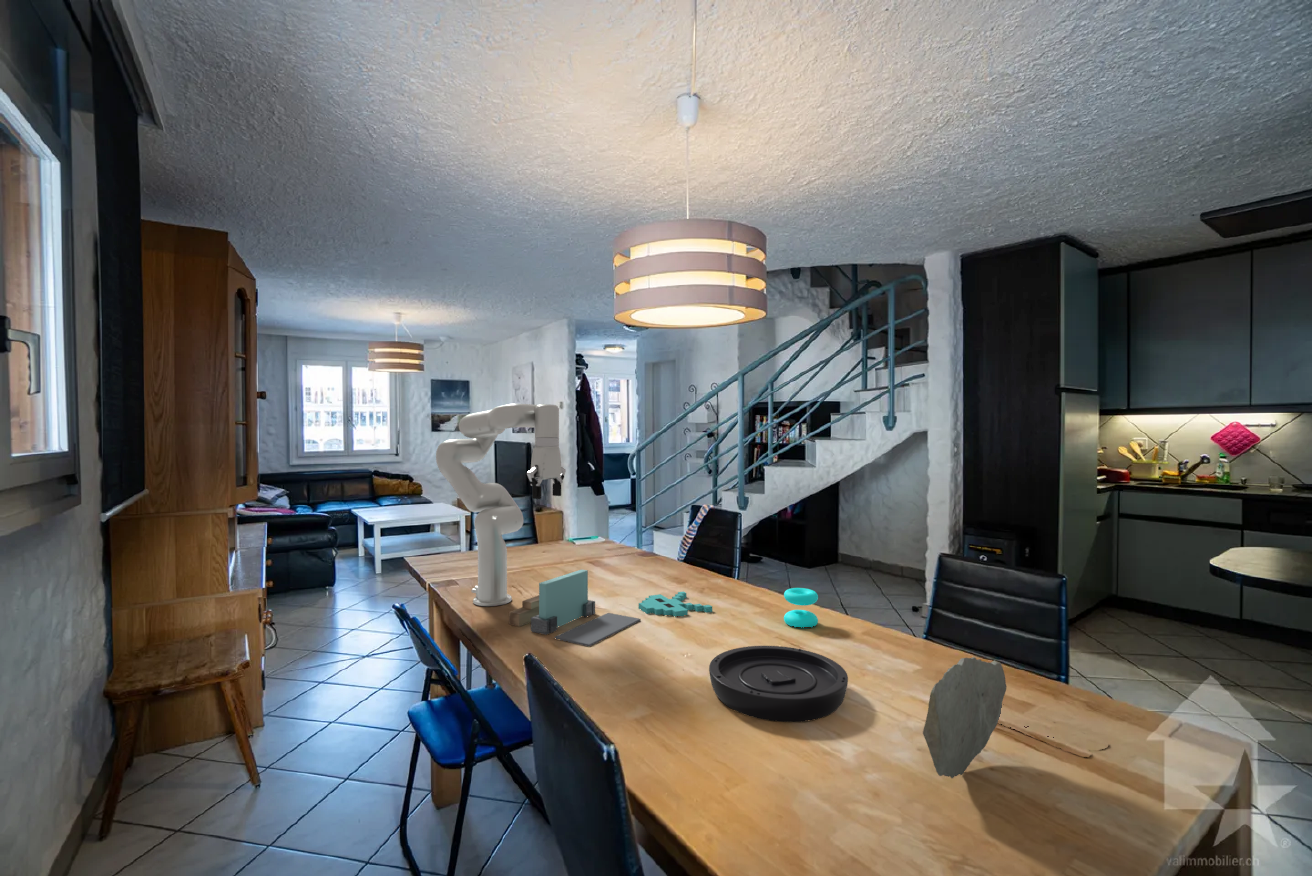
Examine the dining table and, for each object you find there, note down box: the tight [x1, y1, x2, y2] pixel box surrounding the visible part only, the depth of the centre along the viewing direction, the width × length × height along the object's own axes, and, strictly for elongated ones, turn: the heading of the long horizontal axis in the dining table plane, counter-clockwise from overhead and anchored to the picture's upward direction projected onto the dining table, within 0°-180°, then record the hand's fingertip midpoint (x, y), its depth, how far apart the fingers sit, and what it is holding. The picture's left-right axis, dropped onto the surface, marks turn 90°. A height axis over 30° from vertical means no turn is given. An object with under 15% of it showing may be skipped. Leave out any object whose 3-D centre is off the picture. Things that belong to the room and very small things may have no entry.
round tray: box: [708, 645, 849, 723], centre depth 136 cm, size 30×6×30 cm
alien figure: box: [638, 590, 713, 618], centre depth 201 cm, size 20×2×20 cm
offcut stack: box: [508, 594, 539, 627], centre depth 191 cm, size 4×20×6 cm, turn 150°
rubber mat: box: [554, 612, 641, 647], centre depth 178 cm, size 12×26×1 cm, turn 150°
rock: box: [922, 656, 1007, 779], centre depth 104 cm, size 27×6×20 cm, turn 135°
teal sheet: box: [538, 569, 589, 628], centre depth 185 cm, size 2×20×14 cm, turn 150°
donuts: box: [783, 587, 819, 629], centre depth 184 cm, size 10×10×10 cm
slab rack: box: [530, 599, 596, 636], centre depth 185 cm, size 6×23×4 cm, turn 150°
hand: (547, 497), depth 194 cm, fingers open, 9 cm apart
